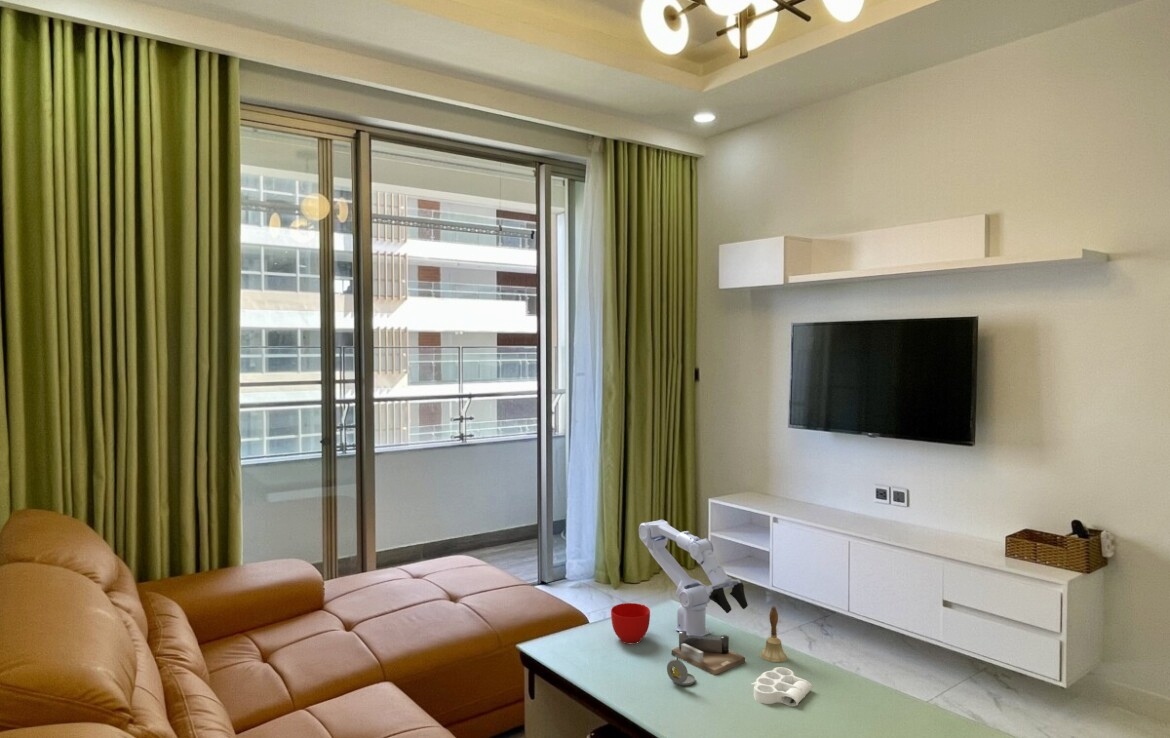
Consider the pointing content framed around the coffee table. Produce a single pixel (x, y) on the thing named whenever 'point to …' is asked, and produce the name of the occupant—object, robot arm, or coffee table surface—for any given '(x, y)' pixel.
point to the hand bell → (773, 642)
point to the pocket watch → (679, 672)
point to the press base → (709, 659)
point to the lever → (705, 642)
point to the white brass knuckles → (780, 687)
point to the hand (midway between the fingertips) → (737, 609)
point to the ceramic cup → (630, 621)
